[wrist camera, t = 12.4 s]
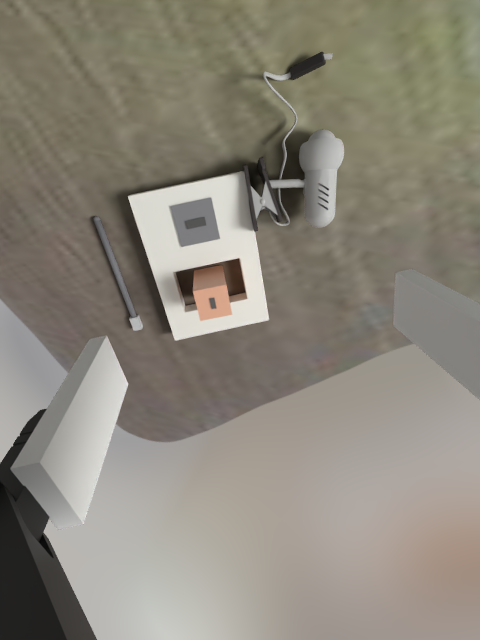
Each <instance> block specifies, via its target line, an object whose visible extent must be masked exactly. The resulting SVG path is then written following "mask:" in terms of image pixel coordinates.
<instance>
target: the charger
mask: <svg viewBox="0 0 480 640" xmlns="http://www.w3.org/2000/svg"><path fill="white" fill-rule="evenodd" d="M193 294H194V298H195V302H196V306H197V310H198V314H199V318H200V321H203V320H208V319H213V318H218V317H223V316H228V315H232V311H231V306H230V300H229V295H228V290H227V285H226V280H225V276H224V271H223V266H222V265H219V266H213V267H208V268H203V269H198V270H194V280H193Z"/></svg>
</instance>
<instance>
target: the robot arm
mask: <svg viewBox="0 0 480 640" xmlns="http://www.w3.org/2000/svg"><path fill="white" fill-rule="evenodd" d="M393 326H394V327H395V328H397V329H398V330H399V331H400V332H401V333H402V334H404V335H405V336H406V337H407V338H408V339H409V340H411V341H412V342H413V343H414V344H415V345H416V346H418V347H419V348H420V349H421V350H422V351H423V352H424V353H426V354H427V355H428V356H429V357H430V358H431V359H433V360H434V361H435V362H436V363H437V364H438V365H440V366H441V367H442V368H443V369H444V370H446V371H447V372H448V373H449V374H450V375H451V376H452V377H454V378H455V379H456V380H457V381H458V382H459V383H461V384H462V385H463V386H464V387H465V388H466V389H468V390H469V391H470V392H471V393H472V394H473V395H475V396H476V397H477V398H478V399H479V400H480V304H479V303H477V302H475V301H473V300H471V299H470V298H468V297H466V296H464V295H462V294H460V293H458V292H456V291H454V290H452V289H450V288H448V287H446V286H444V285H442V284H440V283H439V282H437V281H435V280H433V279H431V278H429V277H427V276H425V275H423V274H421V273H419V272H417V271H415V270H413V269H410V270H405V271H400V272H396V275H395V298H394V320H393ZM127 386H128V383H127V380H126V378H125V376H124V373H123V371H122V369H121V367H120V364H119V362H118V360H117V358H116V355H115V353H114V351H113V349H112V346H111V344H110V342H109V340H108V337H107V335H106V336H102V337H97V338H93V339H89V341H88V343H87V344H86V346H85V347H84V349H83V351H82V352H81V354H80V356H79V357H78V359H77V361H76V362H75V364H74V365H73V367H72V369H71V370H70V372H69V374H68V375H67V377H66V378H65V380H64V382H63V383H62V385H61V387H60V389H59V390H58V392H57V393H56V395H55V397H54V398H53V400H52V401H51V403H50V405H49V406H48V408H47V409H43V410H40V411H39V412H38V413H37V414H36V415H34V416H33V417H32V418H31V419H30V420H29V421H28V422H27V424H26V425H25V427H24V428H23V430H22V431H21V433H20V436H18V437H17V439H16V440H15V442H14V444H13V447H11V448H10V450H9V451H8V453H7V454H6V456H5V457H4V459H3V460H2V462H1V463H0V640H97V639H96V637H95V635H94V633H93V631H92V628H91V626H90V624H89V622H88V620H87V618H86V616H85V614H84V612H83V610H82V608H81V606H80V604H79V601H78V599H77V598H76V595H75V593H74V591H73V589H72V587H71V585H70V583H69V581H68V579H67V576H66V574H65V572H64V570H63V568H62V566H61V564H60V562H59V560H58V558H57V556H56V554H55V552H54V549H53V547H52V545H51V543H50V541H49V539H48V538H47V536H46V535H45V534H44V533H43V531H44V529H45V527H46V524H47V522H48V519H50V520H51V522H52V523H53V524H54V526H55V527H56V528H57V529H58V530H61V529H65V528H69V527H74V526H78V525H82V524H84V521H85V518H86V515H87V512H88V509H89V506H90V503H91V499H92V496H93V493H94V490H95V487H96V484H97V480H98V477H99V474H100V471H101V468H102V465H103V462H104V458H105V455H106V452H107V449H108V446H109V443H110V440H111V436H112V433H113V430H114V427H115V424H116V421H117V418H118V415H119V411H120V408H121V405H122V402H123V399H124V396H125V393H126V389H127Z"/></svg>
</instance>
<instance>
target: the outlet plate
mask: <svg viewBox="0 0 480 640" xmlns="http://www.w3.org/2000/svg"><path fill="white" fill-rule="evenodd" d="M128 199H129V202H130V205H131V208H132V211H133V214H134V217H135V220H136V223H137V226H138V229H139V232H140V235H141V238H142V242H143V245H144V248H145V251H146V254H147V257H148V260H149V263H150V266H151V269H152V272H153V275H154V278H155V281H156V284H157V287H158V290H159V293H160V296H161V299H162V302H163V305H164V308H165V312H166V315H167V318H168V321H169V324H170V327H171V330H172V333H173V336H174V339H175V340H180V339H184V338H189V337H194V336H198V335H203V334H207V333H212V332H216V331H221V330H226V329H230V328H235V327H239V326H244V325H248V324H253V323H258V322H262V321H267V320H269V316H268V310H267V304H266V298H265V292H264V285H263V279H262V273H261V267H260V261H259V254H258V248H257V242H256V236H255V232H254V229H253V224H252V219H251V214H250V207H249V197H248V191H247V185H246V179H245V174H244V171H240V172H235V173H230V174H225V175H221V176H216V177H211V178H207V179H202V180H197V181H192V182H188V183H183V184H178V185H173V186H169V187H164V188H159V189H154V190H150V191H145V192H140V193H135V194H131V195H129V196H128ZM237 258H239V261H240V267H241V272H242V277H243V282H244V287H245V293H241V294H237V295H232V296H229V300H230V306H231V311H232V315H228V316H223V317H218V318H213V319H208V320H203V321H200V318H199V314H198V310H197V306H196V303H195V304H191V305H186V306H185V303H184V299H183V296H182V292H181V289H180V286H179V282H178V279H177V275H176V272H177V271H181V270H186V269H190V268H195V267H200V266H204V265H209V264H214V263H218V262H223V261H228V260H232V259H237Z"/></svg>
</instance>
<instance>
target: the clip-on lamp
mask: <svg viewBox="0 0 480 640" xmlns="http://www.w3.org/2000/svg"><path fill="white" fill-rule="evenodd" d="M332 55H333V53H325V54H324V53H323V52H320V53H318V54H316V55H314V56H312V57H311V58H309V59H307V60H305V61H303V62H301V63H299V64H297V65H295V66H293V67H291V68H290V72H289V73H287V74H284V75H274V74H271V73H268V72H264V73H263V78H264V80H265V82H266V83H267V85H268V86H269V87H270V89H271V90H272V91H273V92H274V93H275V94H276V95H277V96H278V97H279V98H280V99H281V100H282V101H284V102H285V103H286V104H287V105H288V107H289V108H290V109H291V110H292V111H293V113H294V114H295V123H294V125H293V127H292V128H291V130H290V131H289V132H288V133H287V135H286V136H285V138H284V140H283V142H282V148H283V152H284V159H283V163H282V167H281V170H280V174H279V179H278V180H269V178H268V176H267V173H266V170H265V169H266V166H265V163H264V160H263V157H261V158H259V160H258V164H257V167H258V171H259V174H260V176H261V178H262V180H263V183H264V187H263V191H262V196H261V197H260V196H259V195H258V193H257V192H256V191H255V190H254V189H253V188H252V186H251V185H250V179H249V172H248V167H247V165H243V171H244V174H245V179H246V185H247V191H248V197H249V207H250V214H251V219H252V224H253V229H254V232H255V231H258V227H257V221H256V219H257V217H258V214H259V212H260V210H263V209H266V210H267V211H268V212H270V215H271V218H272V220H273V221H274V222H275V223H276V224H278V225H281V226H285V225H288V224H289V223H290V219H289V217H288V215H287V213H286V211H285V210H284V208H283V206H282V203H281V198H280V188H302V187H303V195H305V219H306V221H307V222H308V223H309V224H310V225H311V226H313V227H324V226H326V225H328V224H329V223H330V222H331V221H332V220H333V218H334V216H335V200H336V180H337V169H338V168H339V166H340V165H341V163H342V160H343V157H344V146H343V143H342V141H341V140H340V139H336V138H335V136H334V135H333V133H332V132H330V131H328V130H324V129H322V130H318V131H316V132H314V133H313V134H312V135H311V136H310V138H309V140H308V141H307V142H305V143H303V144H302V145H301V148H300V152H299V162H300V166H301V168H302V170H303V171H304V172H305V179H304V180H300V179H286V180H281V177H282V173H283V169H284V166H285V162H286V157H287V152H286V147H285V140H286V138H287V137H288V135H289V134H290V133H291V132H292V130H293V129H294V127H295V125H296V123H297V115H296V113H295V111H294V109H293V108H292V107H291V105H290V104H289V103H288V102H287V101H286V100H285V99H284V98H283V97H282V96H281V95H280V94H279V93H278V92H277V91H276V90H275V89H274V88H273V87H272V86H271V84H270V83H269V82H268V80H267V78H266V76H267V77H269V78H272V79H274V80H279V81H283V80H287V79H289V78H292V80H295V79H297V78H299V77H301V76H303V75H305V74H307V73H309V72H311V71H313V70H315V69H317V68H319V67H321V66H323V65H325V63H326V62H325V60H331V59H332ZM272 188H278V202H279V206H280V208H281V210H282V212H283V213H284V215H285V216H286V218H287V222H286V223H283V224H280V223H278V222H281V221H282V215H281V212H280V209H279V207H278V204H277V201H276V198H275V195H274V192H273V190H272ZM273 215H274V216H275V217H276V219H277V221H276V220H275V219H274V217H273Z"/></svg>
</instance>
